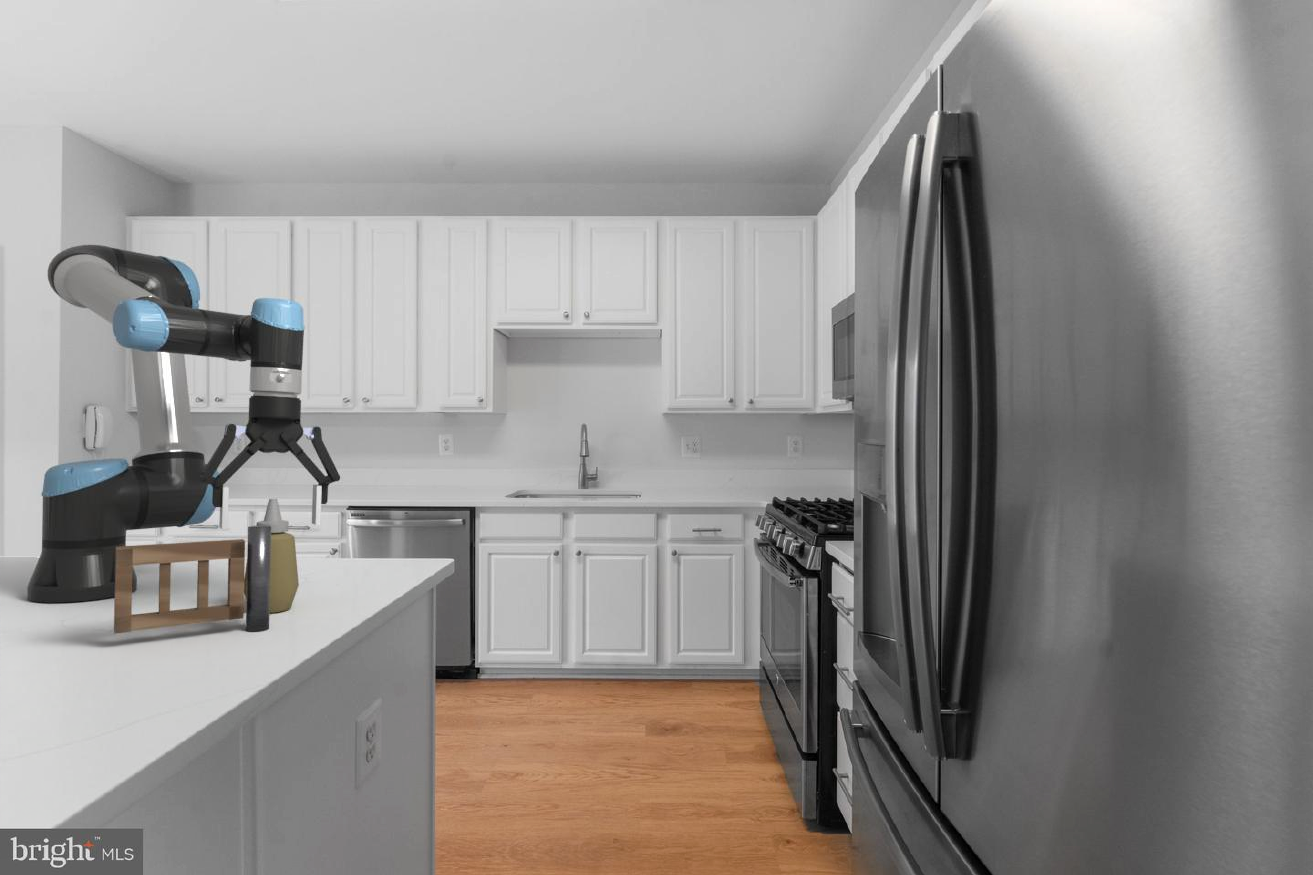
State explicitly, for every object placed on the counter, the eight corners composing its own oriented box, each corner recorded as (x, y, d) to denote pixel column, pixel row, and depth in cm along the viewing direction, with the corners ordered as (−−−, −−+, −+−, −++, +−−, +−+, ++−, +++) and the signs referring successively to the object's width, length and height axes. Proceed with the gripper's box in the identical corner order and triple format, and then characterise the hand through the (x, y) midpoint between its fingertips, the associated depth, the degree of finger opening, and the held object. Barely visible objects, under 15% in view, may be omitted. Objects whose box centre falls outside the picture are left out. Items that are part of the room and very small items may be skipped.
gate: (113, 630, 99) (115, 546, 99) (241, 616, 108) (242, 539, 108) (114, 633, 98) (116, 548, 98) (243, 618, 107) (245, 540, 107)
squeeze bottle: (275, 617, 116) (277, 502, 116) (230, 614, 118) (232, 500, 118) (309, 606, 124) (311, 498, 124) (267, 603, 125) (269, 496, 126)
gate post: (244, 628, 109) (246, 526, 109) (266, 625, 111) (268, 524, 111) (247, 632, 107) (249, 528, 107) (271, 629, 108) (273, 527, 109)
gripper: (188, 390, 110) (183, 533, 110) (361, 399, 125) (357, 525, 126) (182, 391, 116) (178, 526, 116) (349, 399, 131) (345, 519, 132)
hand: (271, 526), depth 121 cm, fingers open, 13 cm apart
